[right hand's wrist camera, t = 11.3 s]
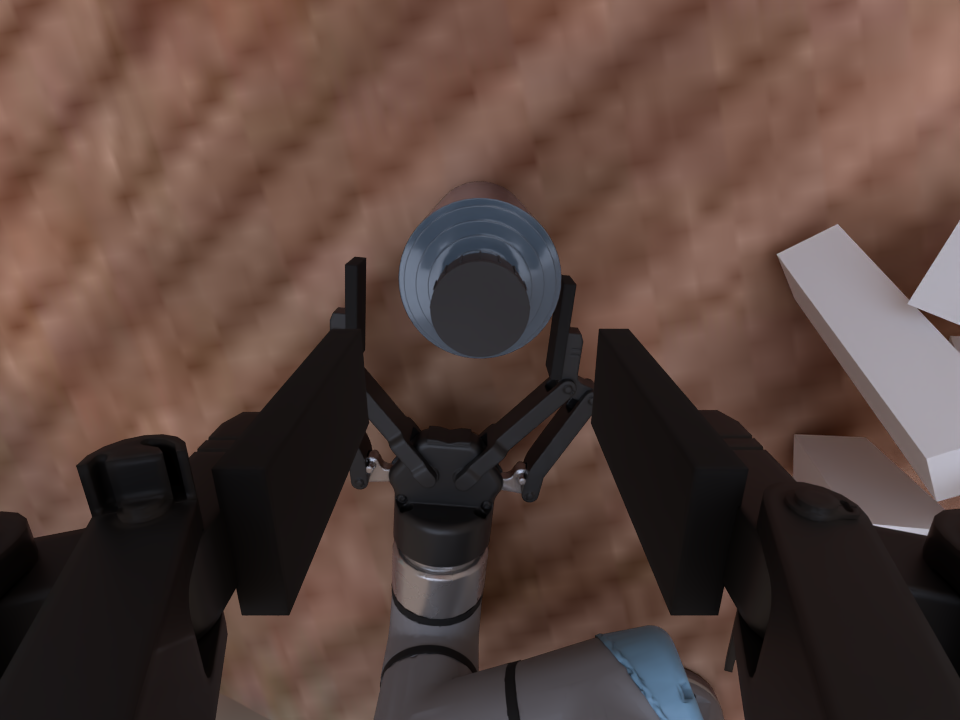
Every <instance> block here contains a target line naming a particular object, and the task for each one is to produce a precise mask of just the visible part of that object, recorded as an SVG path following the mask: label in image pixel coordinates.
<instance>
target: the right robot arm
mask: <svg viewBox="0 0 960 720" xmlns="http://www.w3.org/2000/svg"><path fill="white" fill-rule="evenodd" d="M368 424H369V418H368V406H367V394H366V382H365V370H364V358H363V346H362V335H361V329H331V330H330V331H329V332H328V334H327V335H326V336H325V337H324V338H323V339H322V341H321V342H320V343H319V344H318V345H317V346H316V348H315V349H314V350H313V351H312V352H311V353H310V355H309V356H308V357H307V358H306V359H305V360H304V362H303V363H302V364H301V365H300V366H299V367H298V369H297V370H296V371H295V372H294V373H293V374H292V376H291V377H290V378H289V379H288V380H287V381H286V383H285V384H284V385H283V386H282V387H281V388H280V390H279V391H278V392H277V393H276V394H275V395H274V396H273V398H272V399H271V400H270V401H269V402H268V403H267V405H266V406H265V407H264V408H263V409H262V410H261V412H242V413H240V414H239V415H237V416H235V417H233V418H231V419H230V420H228V421H226V422H224V423H222V424H221V425H220V426H219V427H218V428H217V429H216V430H215V431H214V432H213V433H212V434H211V435H210V437H209V439H208V440H206V441H205V442H204V443H203V444H202V445H201V446H200V447H199V448H198V449H197V450H198V451H197V452H194V453H193V454H192V455H191V456H190V457H188V453H187V448H186V444H185V442H184V441H183V440H181V439H180V438H178V437H176V436H170V435H164V434H160V435H144V436H139V437H134V438H129V439H124V440H121V441H119V442H116V443H113V444H110V445H107V446H104V447H102V448H101V449H99V450H97V451H95V452H93V453H91V454H89V455H88V456H86V457H85V458H84V459H83V460H82V461H81V462H80V463H79V464H78V465H76V467H77V470H78V473H79V476H80V480H81V483H82V486H83V489H84V492H85V495H86V499H87V502H88V505H89V508H90V511H91V514H92V518H91V520H90V522H89V524H88V525H87V527H86V528H84V529H79V530H74V531H68V532H63V533H58V534H53V535H47V536H42V537H37V538H34V537H33V535H32V532H31V529H30V527H29V524H28V521H27V519H26V518H25V517H23V516H22V515H20V514H19V513H14V512H3V511H1V512H0V720H215V718H216V711H217V704H218V698H219V691H220V684H221V677H222V670H223V663H224V656H225V649H226V642H227V635H228V634H227V626H226V621H225V616H224V612H223V610H224V609H225V607H226V605H227V603H228V601H229V600H230V598H231V596H232V594H233V593H234V591H235V589H236V590H237V594H238V599H239V604H240V609H241V613H242V615H289V614H290V612H291V610H292V607H293V605H294V602H295V600H296V598H297V595H298V593H299V590H300V588H301V586H302V583H303V581H304V578H305V576H306V574H307V571H308V569H309V566H310V564H311V562H312V559H313V557H314V554H315V552H316V550H317V547H318V545H319V542H320V540H321V537H322V535H323V533H324V530H325V528H326V525H327V523H328V521H329V518H330V516H331V513H332V511H333V509H334V506H335V504H336V501H337V499H338V497H339V494H340V492H341V489H342V487H343V485H344V482H345V480H346V477H347V475H348V473H349V470H350V468H351V465H352V463H353V460H354V458H355V456H356V453H357V451H358V448H359V446H360V444H361V441H362V439H363V436H364V434H365V432H366V429H367V427H368ZM591 424H592V427H593V429H594V432H595V434H596V436H597V439H598V441H599V444H600V446H601V448H602V451H603V453H604V456H605V458H606V460H607V463H608V465H609V468H610V470H611V473H612V475H613V477H614V480H615V482H616V485H617V487H618V489H619V492H620V494H621V497H622V499H623V501H624V504H625V506H626V509H627V511H628V513H629V516H630V518H631V521H632V523H633V525H634V528H635V530H636V533H637V535H638V537H639V540H640V542H641V545H642V547H643V550H644V552H645V554H646V557H647V559H648V562H649V564H650V566H651V569H652V571H653V574H654V576H655V578H656V581H657V583H658V586H659V588H660V590H661V593H662V595H663V598H664V600H665V602H666V605H667V607H668V610H669V612H670V614H671V615H718V613H719V609H720V604H721V599H722V594H723V590H724V586H725V588H726V590H727V592H728V593H729V595H730V597H731V599H732V600H733V602H734V604H735V606H736V607H737V612H736V616H735V621H734V625H733V630H732V634H731V638H730V643H729V647H728V652H727V656H726V662H725V669H724V670H725V671H729V672H732V670H733V666H734V662H735V660H736V661H737V668H738V675H739V682H740V689H741V696H742V703H743V710H744V717H745V720H960V509H951V510H943V511H941V512H940V513H938V514H937V515H935V516H934V519H933V521H932V524H931V527H930V529H929V532H928V535H927V536H926V535H921V534H916V533H911V532H905V531H900V530H895V529H889V528H884V527H879V526H875V525H873V524H872V523H871V521H870V519H869V517H868V516H867V515H866V513H865V512H864V511H863V510H862V509H861V508H860V507H859V506H858V505H857V504H856V503H854V502H853V501H851V500H849V499H848V498H846V497H845V496H843V495H842V494H839V493H837V492H834V491H832V490H829V489H827V488H825V487H822V486H818V485H814V484H809V483H805V482H797V481H796V480H795V479H794V478H793V477H792V476H791V475H790V474H789V473H788V472H787V471H786V470H785V469H784V468H783V467H782V466H781V465H780V464H779V463H778V462H777V461H776V460H775V459H774V458H773V457H772V456H771V455H770V454H769V453H768V452H767V451H766V450H763V447H762V445H761V444H760V443H759V442H758V441H757V440H756V439H755V438H752V435H751V434H750V433H749V432H748V431H747V430H746V429H745V428H744V427H743V426H742V425H741V424H740V423H739V422H738V421H736V420H734V419H732V418H730V417H729V416H727V415H725V414H723V413H721V412H720V411H718V410H698V409H697V408H696V407H695V406H694V405H693V403H692V402H691V401H690V400H689V399H688V398H687V397H686V395H685V394H684V393H683V392H682V391H681V390H680V388H679V387H678V386H677V385H676V384H675V383H674V381H673V380H672V379H671V378H670V377H669V376H668V374H667V373H666V372H665V371H664V370H663V369H662V367H661V366H660V365H659V364H658V363H657V362H656V360H655V359H654V358H653V357H652V356H651V355H650V353H649V352H648V351H647V350H646V349H645V348H644V346H643V345H642V344H641V343H640V342H639V341H638V339H637V338H636V337H635V336H634V335H633V334H632V332H631V331H630V330H629V329H599V335H598V346H597V358H596V370H595V382H594V394H593V406H592V418H591Z"/></svg>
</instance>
